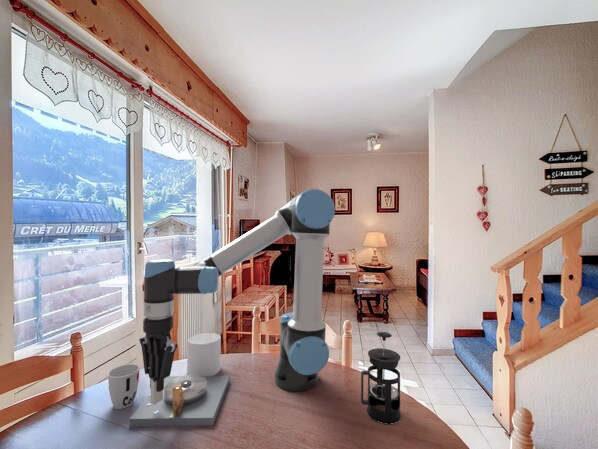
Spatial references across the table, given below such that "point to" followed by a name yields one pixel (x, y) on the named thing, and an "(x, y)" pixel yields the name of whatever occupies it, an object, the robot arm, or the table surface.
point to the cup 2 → (204, 354)
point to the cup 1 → (123, 385)
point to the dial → (184, 391)
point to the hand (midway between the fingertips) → (156, 401)
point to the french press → (382, 384)
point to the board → (191, 413)
